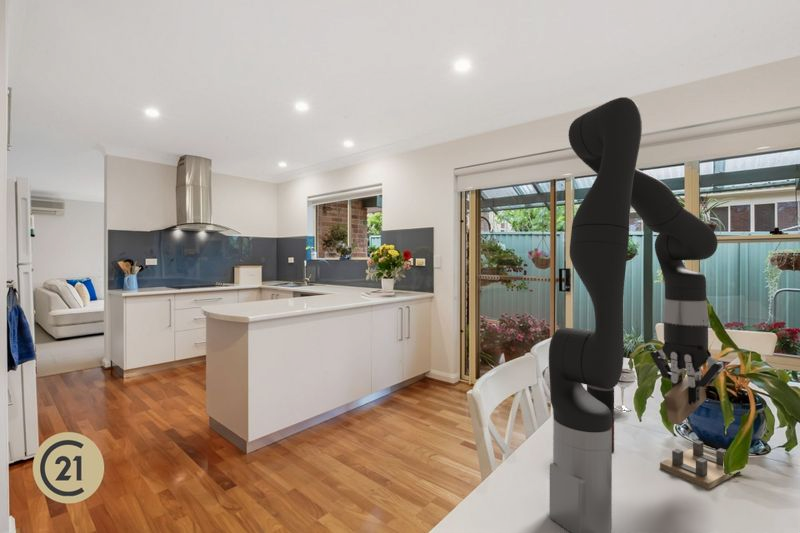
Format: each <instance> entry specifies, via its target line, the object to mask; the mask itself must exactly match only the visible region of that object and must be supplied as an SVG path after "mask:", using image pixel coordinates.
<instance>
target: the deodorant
mask: <svg viewBox="0 0 800 533" xmlns="http://www.w3.org/2000/svg"><path fill="white" fill-rule="evenodd" d="M586 391H587V392H588V393H589V394H591V395H592V396H593V397H594V398H596V399H597V400H599V401H600V402H602V403H603V404H605V405H606V406H607V407H608V408H609V409H610V411H611V414H612V454H613V453H615V408H614V406H615V387H614V388H612V389H604V388H599V387H595V386H591V385H586Z"/></svg>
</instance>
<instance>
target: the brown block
mask: <svg viewBox="0 0 800 533" xmlns="http://www.w3.org/2000/svg"><path fill="white" fill-rule="evenodd" d="M703 374H704V373H701V375H700V378H701V379H702V377H703V376H704V375H703ZM688 387H689V384H688V376H687V375H686V376H685V377H683V380H681V381H680V382H679V383H678V384H677V385H676V386H674V387H673V388H671V389H670V390H668V391H667V392H666V393H665V394H664V395H663V398H664V399H663V400H664V404H665V411H666V415H667V416H666V417H667V420H668V421H667V422H669V423H670V424H674V425H677V426H680V425H681V424H683V422H685V421H686V419H687V418H689V416H690V415H691V414H693V413H694V412H695V411H696V410H697V409H698V408H699V407H700V406H701V405H702V404H703V403H704V402H705V401H706V400H707V394H706V393H707V392H706V386H705V387H700V388H699V394H700V400H699V402H696V404H694V405H690V404H689V397H688Z"/></svg>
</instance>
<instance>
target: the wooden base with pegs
mask: <svg viewBox="0 0 800 533" xmlns="http://www.w3.org/2000/svg"><path fill="white" fill-rule="evenodd" d="M726 450H727V449H724V448H721V447H720V448H718V449H716V450H715V451H716V452H715V454H716V456H714V455H711V454H709V453H705V452H704V442H703V441H702V440H697V439H696V440H694V441H693V442H692V448H690V449H687V450H686V451H684V450H681V449H680V448H675V449H673V450H672V451H671V457H669V458H667V459H665V460H662V461H660V462H659V469H662V470H663V471H666V472H668V473H671V474H673V475H675V476H678V477H680V478H682V479H684V480H686V481H688V482H689V481H690V482H692V483H693V484H695V485H699V486H701V487H703V488H705V489H707V490H711V489H712V488H714V487H716V486H717V485H719V484H721V483H723V482H724V481H727V480H728V479H730V478H732V477H733V476H735V475H734V474H731V475H729V474H725V473H724V469H723V455H724V453H725V452H726Z"/></svg>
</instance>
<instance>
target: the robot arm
mask: <svg viewBox="0 0 800 533" xmlns="http://www.w3.org/2000/svg"><path fill="white" fill-rule="evenodd" d="M639 108H640V107H639V106H638V104H637V103H636V102H635V101H634V100H633V99H632V98H630V97H627V96H626V97H625V96H623V97H622V96H621V97H618V98H614V99H612V100H609V101H607V102H605V103H603V104H601V105H598V106H597V107H595V108H593V109H592V110H590V111H587V112H585V113H583V114H582V115H580V116H578V117H576V118H575V119H574V120H573V121H572V122H571V124H570V126H569V128H568V141H569V145H570V146H571V149H572V151H573V152H574V153H575V155H576V156H577V157H578V158H579V159H580V160H581V161H582V162H583V163H584V164H585V165H586V166H587V167H589V168H590V169H591V170H592V171H593V172H594V173H595V174H596V177H595V179H594V182H593V183H592V186H591V188H589V190H588V192H587V194H586V195H585V196H584V198H583V200H582V201H581V203H580V204H579V206H578V208H577V210H576V212H575V215H574V217H573V220H572V224H571V232H570V239H569V240H570V242H569V258H570V261H571V264H572V266H573V268H574V270H575V271H576V274H577V275H578V277H579V279H580V280H581V282H582V284H583V286H584V287H585V290H586V291H587V292H588V295H589V297H590V301H591V302H592V305H593V306H592V307H593V311H594V321H595V327H594V328H595V329H594V330H590V329H589V330H588V329H581V328H571V327H561V328H558V329H557V330H555V332H554V333H553V334H552V335H551V336H552V337H551V339H550V342H549V346H548V347H549V348H548V373H549V388H550V390H549V392H550V394H549V395H550V403H551V407H552V411H553V412H552V413H553V414H552V419H553V422H552V426H553V427H552V428H553V433H552V434H553V436H552V440H553V441H552V445H553V446H552V447H553V448H552V452H553V453H552V459H553V460H552V462H551V463H550V464H549V514H548V516H549V518H550V519H551V520H553V522H556V523H557V524H558V525H560V526H561V527H563V528H564V529H565V530H566V531H568V532H569V533H611V532H612V528H613V524H612V523H613V517H612V513H613V512H612V511H613V504H612V501H613V494H612V492H613V491H612V490H613V487H612V485H613V484H612V482H613V481H612V480H613V479H612V478H613V477H612V475H613V474H612V472H613V471H612V470H613V468H612V467H613V463H612V462H613V461H612V460H613V453H612V414H611V411H610V409H609V408H608V407H607V406H606V405H605V404H603V403H602V402H600V401H599V400H597V399H596V398H594V397H593V396H592V395H591V394H589V393H588V392H587V389H586V388H585V387H584V385H586V386H587V385H591V386H595V387H599V388H604V389H612V388H614V389H615V388H616V386H617V384H618V382H619V380H620V377H621V373H622V368H624V367H623V366H624V351H625V350H624V346H625V344H624V339H625V338H624V296H625V295H624V294H625V293H624V290H625V280H626V271H627V270H626V267H627V260H628V253H629V251H628V250H629V240H630V239H629V238H630V221H631V220H630V216H631V215H630V214H631V207H632V208H633V210H634V211H635V212H636V214H637V215H638V217H639V218H640V219H641V220H642V221H643V223H644V224H645V225H646V227H647V228H648V229H649V230H650V231H651V232H653V233H657V234H658V235H657V236H656V239H655V242H654V250H655V251H654V252H655V255H656V258H657V261H658V263H659V264H658V265H659V267H660V271H661V273H662V277H663V280H664V304H663V340H664V343H663V345H662V346H661V349H659V350H658V349H657V350H652V351H650V353H649V354H650V357H651V358H652V360H653V363H654V364H655V366H656V367H657V369H658V371H659V372H660V374H661V376H662V378H664V379H668V380H669V381H670V382H671V386H672V388H673V387H674V386H676V385H677V384H678V383H679V382H680V381H681V380H683V379H684V373H685V374H686V376H688V384H689V387H688V397H689V404H690V405H694V404H696V402H699V400H700V394H699V388H700V387H705V388H706V386H707V387H708V386H711V384H712V383H713V382H714V381H715V380H716V378H717V377H718V376H719V375H720V374H721V372H722V371H723V370H724V369H725V368H726V363H725V362H723V361H719V360H717V359H715V358H713V357H712V355H711V352H710V351H709V322H710V321H709V320H710V319H709V310H708V306H707V304H708V303H707V278H706V276H705V275H704V274H703V273H701V272H699V271H693V270H689V269H687V268H686V266H685V264H684V263H683V261H701V260H702V261H703V260H707V259H709V258H711V257H713V256H714V254H715V252H716V251H717V249H718V245H719V244H718V243H719V242H718V238H717V235H716V233H715V231H714V230H713V229H712V228H711V227H710V225H708V224H707V223H706V222H704V221H703V220H702V219H701V218H699V217H698V216H696V215H695V214H693V213H692V212H691V211H690V210H688V209H687V208H684V205H682V203H681V202H680V200H679V199H678V197H677V196H676V195H675V194H674V192H673V190H672V189H670V187H669V186H668V185H667V184H666V183H664V182H663V181H661V180H660V179H658V178H656V177H654V176H653V175H650V174H648V173H646V172H645V171H642V170H640V169H638V168H637V162H638V157H639V151H640V147H641V146H640V145H641V141H642V134H643V132H642V130H643V121H642V119H643V118H642V114H641V112H640V109H639ZM666 358H667V359H668V360H669V362H670V364H669V363H668V360H666ZM706 363H707V369H708V370H707V371H706V372H705V374H704V375H703V377H702V379H701V378H700V375H701V374H702V367H703V366H704V365H705V364H706ZM672 388H671V389H672Z"/></svg>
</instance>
